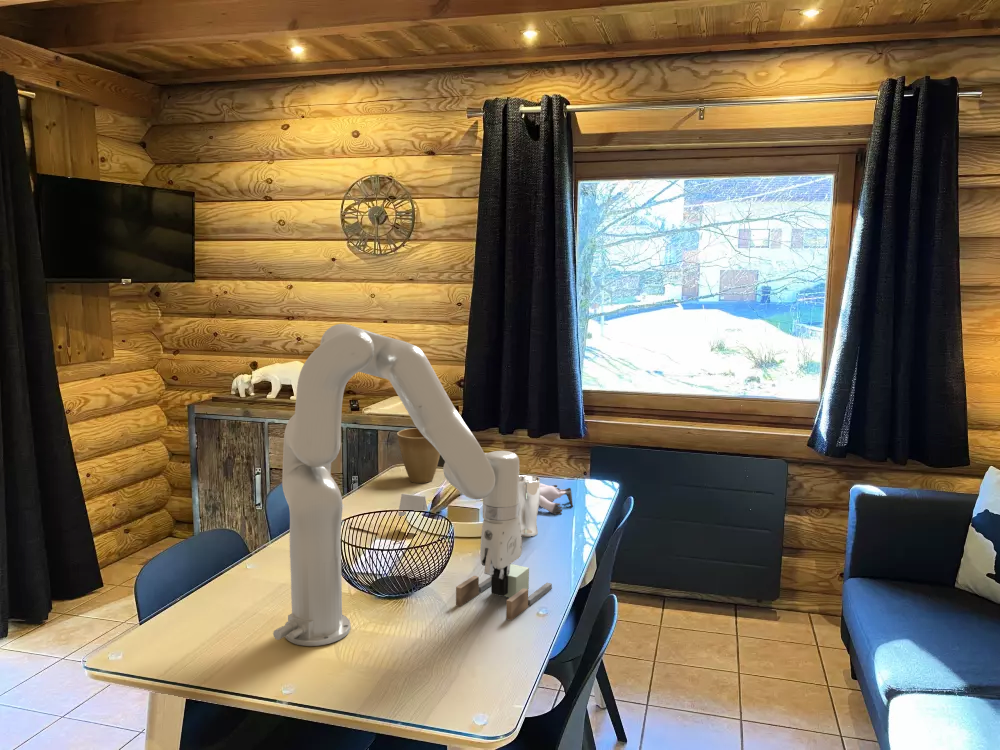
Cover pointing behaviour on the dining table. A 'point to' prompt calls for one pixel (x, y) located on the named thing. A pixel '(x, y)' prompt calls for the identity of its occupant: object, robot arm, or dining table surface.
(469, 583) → the walnut channel
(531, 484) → the beer glass
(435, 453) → the plant pot
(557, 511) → the yeti figurine
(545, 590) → the rails
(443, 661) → the dining table surface
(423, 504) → the light grey tapered block
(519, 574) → the sage block
